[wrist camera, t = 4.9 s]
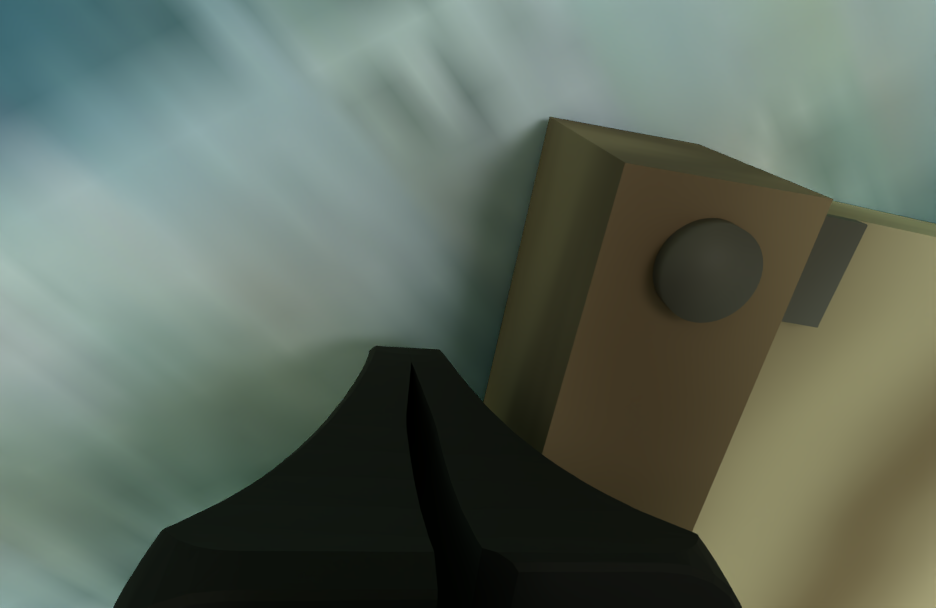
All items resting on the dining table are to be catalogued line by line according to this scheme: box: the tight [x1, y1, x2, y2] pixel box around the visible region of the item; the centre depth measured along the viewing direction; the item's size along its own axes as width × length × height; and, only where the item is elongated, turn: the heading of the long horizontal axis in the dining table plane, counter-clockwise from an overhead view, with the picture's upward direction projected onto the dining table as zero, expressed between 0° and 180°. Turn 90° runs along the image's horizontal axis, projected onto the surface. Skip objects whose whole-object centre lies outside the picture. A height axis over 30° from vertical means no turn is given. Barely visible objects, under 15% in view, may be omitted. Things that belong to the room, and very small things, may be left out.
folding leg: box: [483, 117, 833, 532], centre depth 12 cm, size 3×10×4 cm, turn 169°
